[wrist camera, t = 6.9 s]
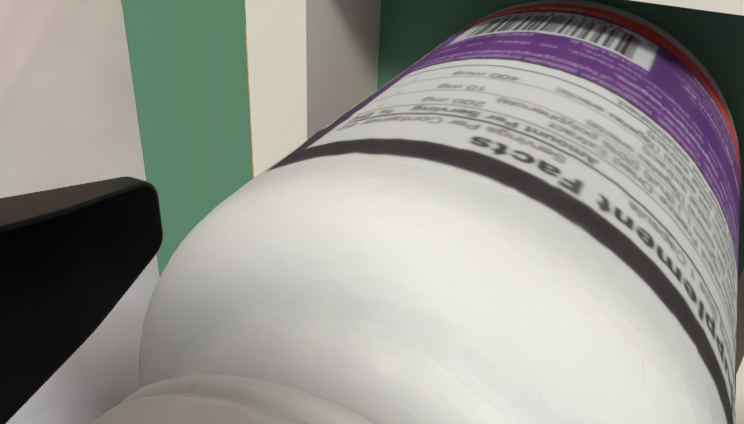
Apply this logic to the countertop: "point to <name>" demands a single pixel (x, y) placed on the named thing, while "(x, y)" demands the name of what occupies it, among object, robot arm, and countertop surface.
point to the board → (330, 84)
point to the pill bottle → (474, 247)
